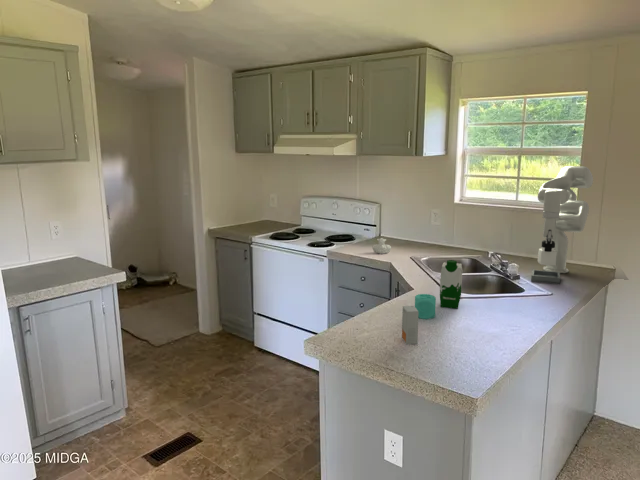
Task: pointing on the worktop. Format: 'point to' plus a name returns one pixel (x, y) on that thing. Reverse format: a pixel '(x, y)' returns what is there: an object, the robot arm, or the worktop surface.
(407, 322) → the skincare box
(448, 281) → the milk carton
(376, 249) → the white lobed vase
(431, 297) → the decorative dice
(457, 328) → the worktop surface
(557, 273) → the tray
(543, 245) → the medicine bottle
